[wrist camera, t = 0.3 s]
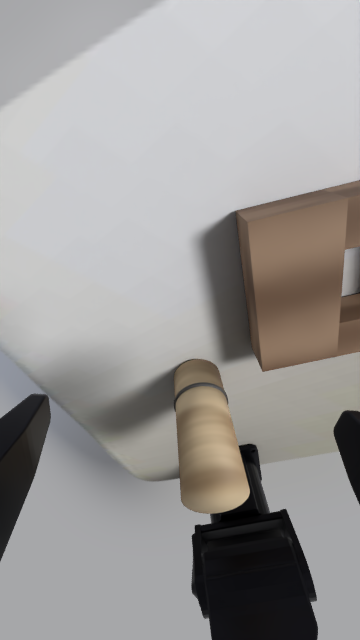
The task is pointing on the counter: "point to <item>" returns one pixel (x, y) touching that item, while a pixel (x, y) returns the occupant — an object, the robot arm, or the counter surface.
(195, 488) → the oak peg
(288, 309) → the walnut board
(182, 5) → the counter surface
